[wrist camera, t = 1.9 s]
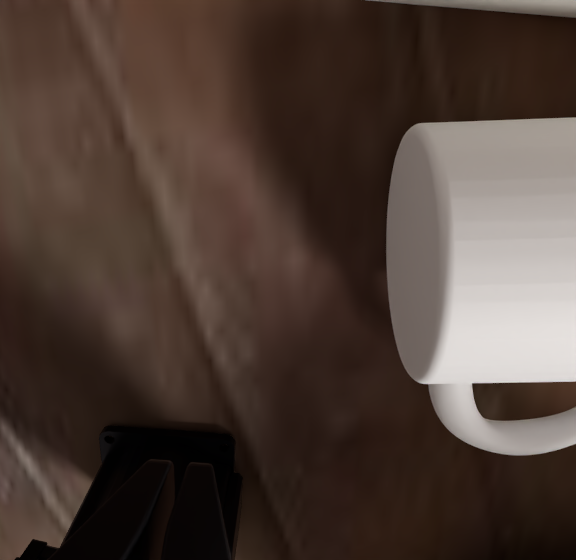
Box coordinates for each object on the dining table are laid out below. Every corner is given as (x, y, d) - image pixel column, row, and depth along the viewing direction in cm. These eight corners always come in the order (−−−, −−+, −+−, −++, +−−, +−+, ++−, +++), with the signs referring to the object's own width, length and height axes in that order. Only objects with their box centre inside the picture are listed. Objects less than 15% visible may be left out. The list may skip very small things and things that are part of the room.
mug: (390, 112, 17) (458, 144, 10) (675, 101, 17) (968, 126, 9) (377, 386, 22) (416, 543, 15) (598, 382, 22) (750, 542, 14)
